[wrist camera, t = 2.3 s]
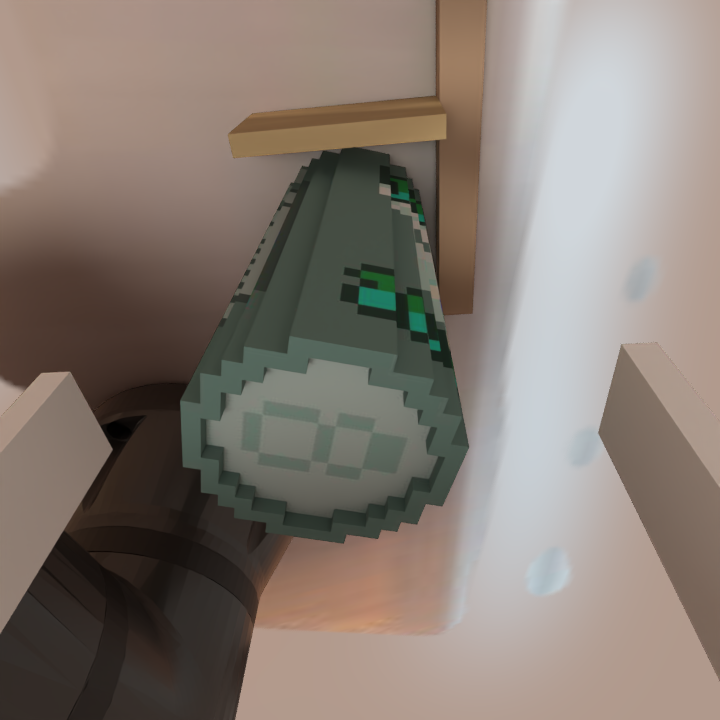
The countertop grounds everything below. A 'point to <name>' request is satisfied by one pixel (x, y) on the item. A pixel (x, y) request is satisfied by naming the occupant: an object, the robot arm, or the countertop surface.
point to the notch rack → (410, 139)
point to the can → (331, 365)
